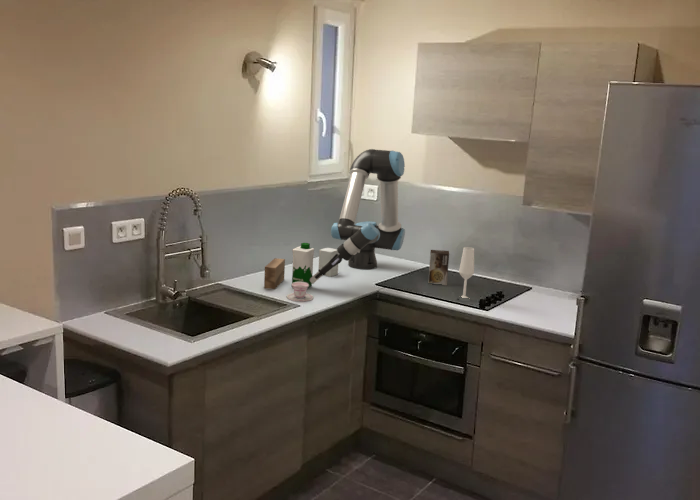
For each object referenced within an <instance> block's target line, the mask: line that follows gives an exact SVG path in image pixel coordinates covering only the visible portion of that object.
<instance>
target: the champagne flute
mask: <svg viewBox="0 0 700 500" xmlns="http://www.w3.org/2000/svg"><path fill="white" fill-rule="evenodd" d="M474 273H475V248H474V247H470V246H464V247H463V250H462V253H461V259H460V265H459V270H458V274H459V275H460V276H461V277H462V279H464V280H463V281H464V282H463V288H462V289H463V291H462V295H461V297H462V298H469V297H468V295H466V294H467V283H468V280H469V279H470V278H471V277H473V275H475V274H474Z"/></svg>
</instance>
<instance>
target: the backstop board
mask: <svg viewBox="0 0 700 500" xmlns="http://www.w3.org/2000/svg"><path fill="white" fill-rule="evenodd" d="M285 266H286V259H285V258H276V257H275V258H273V259H272V260H271V261H270V262H269V263H268V264H266V265H265V266H264V277H263V278H264V279H263V280H264V282H263V283H264V287H263V288H264V289H268V290H269V289H270V290H276V289H277V288H278V286H280V285H281V283H283V281H284V280H285V269H286V267H285Z"/></svg>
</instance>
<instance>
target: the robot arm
mask: <svg viewBox="0 0 700 500" xmlns="http://www.w3.org/2000/svg"><path fill="white" fill-rule="evenodd" d="M405 167H406V166H405V158H404V155H403V154H402V152H400V151H396V150H386V149H373V148H371V149H366V150H363V152H361V153H360V154H358V155H357V156H356V158H355V159H354V160H353V162H352V164H351V166H350V169H349V175H350V176H349V177H350V178H349V180H348V185H347V189H346V193H345V197H344V199H343V204H342V207H341V212H340V214H339V219H338V222H333V224H332V225H331V229H330V234H331V237H332V238H333V239H335V240H340V241H342V240H343V241H344V242H343V243H342V244H341V245H339V246H337V248H336V249H337V251H338V253H339V254H336V255H335V256H334V257H333V258H332V259H331V260H330V261H329V262H328V263H327V264H326V265H325V266H324V267H322V269H321V270H319V269H317V272H316V273H314V275H313V274H312V277H311V278H310V282H311V283H312V285H314V284H315V282H317V281H318V280H320V278H322V277H323V276H324V275H326V274H325V273H327V272H328V271H329V270H330V269H332V268H333V267H335V266H336V265H337V264H338V265H339V264H340V263H341V262H342V261H343V260H345V261H348V264H347V265H348V267H350V268H354V269H358V270H372V269H375V268H377V267H378V260H377V257H376V253H375V252H376V249H382V250H390V251H400V250H401V248H402V246H403V244H404V241H405V234H406V230H405V229H404V228H402V224H401V222H400V221H399V186H398V185H399V182H398V181H399V180H401V178H402V176H404V173H405ZM370 174H372V175H373V174H374V175H376V179H377V180H378V181H379V182H380V183H379V185H380V220H381V222H379V224H377V222H376V221H360V222H357V223H355V222H356V219H357V215H358V211H359V209H360V204H361V200H362V195H363V191H364V188H365V184H366V180H368V179H369V177H370Z"/></svg>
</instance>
